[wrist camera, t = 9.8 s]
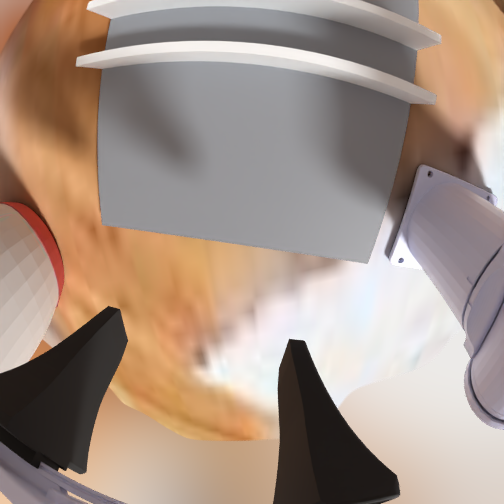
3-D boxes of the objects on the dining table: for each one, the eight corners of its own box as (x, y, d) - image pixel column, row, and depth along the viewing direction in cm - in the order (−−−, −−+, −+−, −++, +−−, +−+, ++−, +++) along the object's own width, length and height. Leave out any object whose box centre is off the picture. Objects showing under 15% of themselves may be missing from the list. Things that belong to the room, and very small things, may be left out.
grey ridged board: (409, -44, 7) (431, -62, 3) (363, 256, 19) (380, 288, 16) (148, -70, 6) (128, -90, 3) (108, 219, 19) (80, 243, 16)
